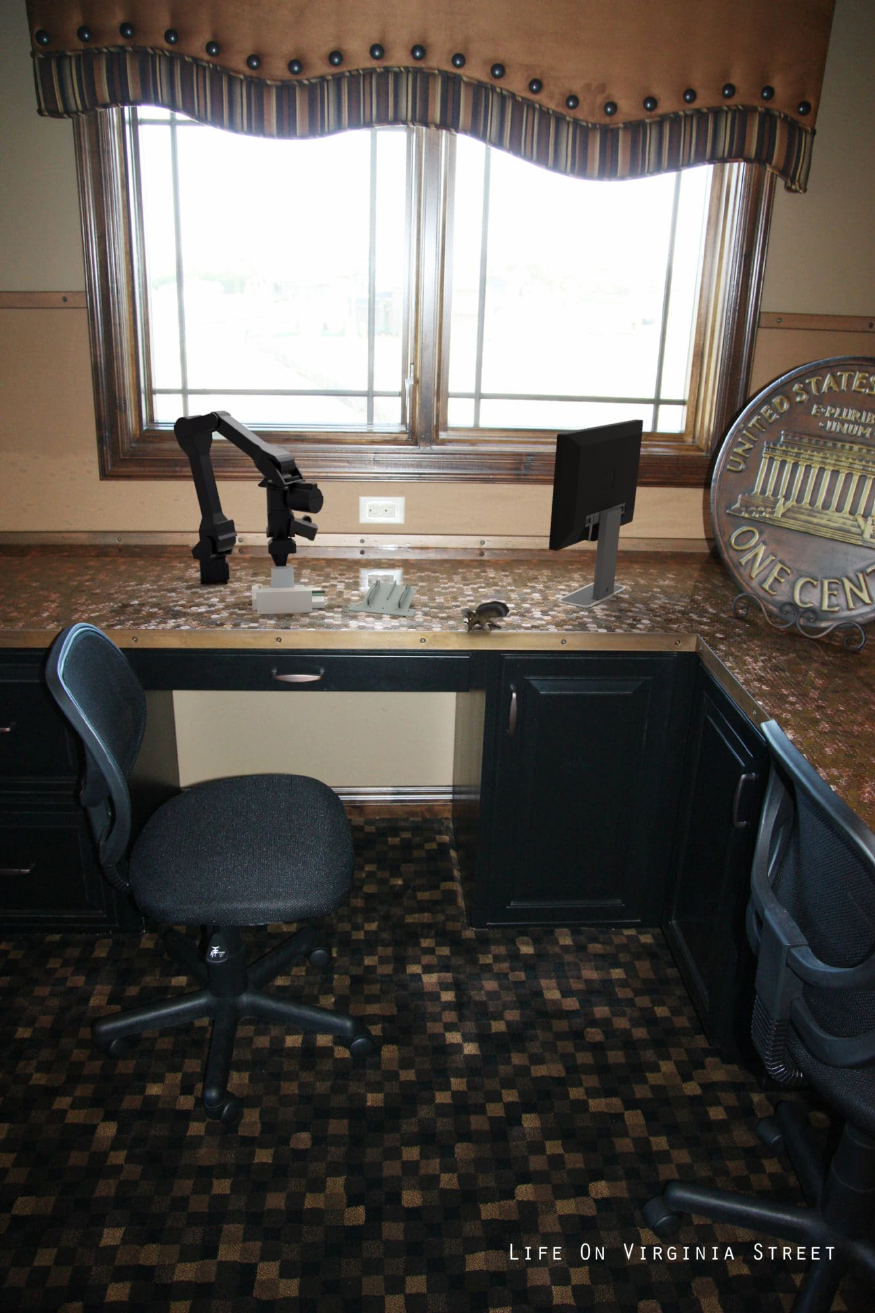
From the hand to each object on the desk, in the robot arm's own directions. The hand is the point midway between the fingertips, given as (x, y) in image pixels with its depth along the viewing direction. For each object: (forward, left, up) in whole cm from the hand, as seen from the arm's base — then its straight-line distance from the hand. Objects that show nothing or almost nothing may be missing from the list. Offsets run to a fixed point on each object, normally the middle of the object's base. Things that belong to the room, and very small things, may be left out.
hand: (282, 574), depth 213 cm
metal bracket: (+23, -11, -6) cm, 26 cm away
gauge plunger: (+2, -6, -5) cm, 8 cm away
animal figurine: (+41, -30, -5) cm, 51 cm away
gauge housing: (+1, -7, -5) cm, 8 cm away
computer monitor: (+74, -8, -5) cm, 75 cm away
